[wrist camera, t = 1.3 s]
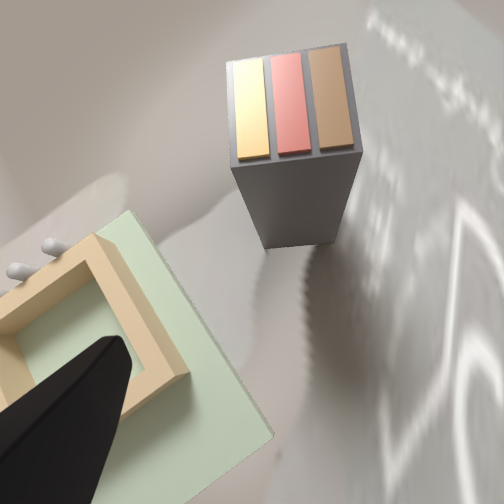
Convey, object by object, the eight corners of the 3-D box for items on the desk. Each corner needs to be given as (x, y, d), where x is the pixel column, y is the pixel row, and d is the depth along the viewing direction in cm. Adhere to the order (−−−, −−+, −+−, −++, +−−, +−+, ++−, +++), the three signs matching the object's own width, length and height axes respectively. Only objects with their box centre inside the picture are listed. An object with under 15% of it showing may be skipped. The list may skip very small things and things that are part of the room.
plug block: (333, 242, 22) (364, 149, 11) (264, 248, 22) (229, 165, 12) (326, 179, 23) (346, 39, 12) (260, 186, 23) (225, 58, 13)
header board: (274, 432, 19) (267, 455, 16) (73, 582, 19) (15, 644, 15) (135, 214, 24) (104, 190, 20) (-27, 329, 24) (-90, 327, 20)
